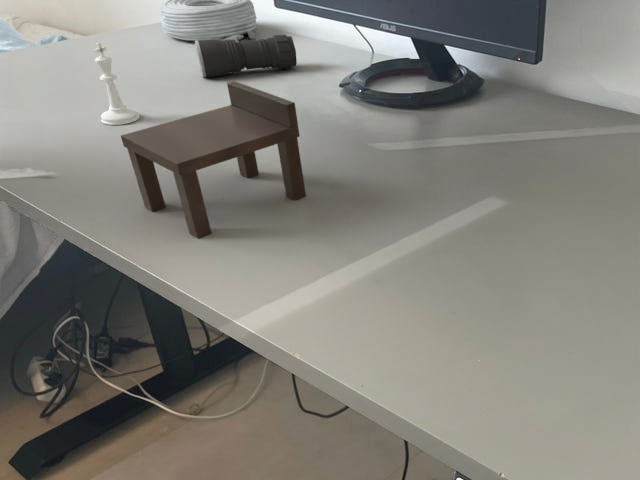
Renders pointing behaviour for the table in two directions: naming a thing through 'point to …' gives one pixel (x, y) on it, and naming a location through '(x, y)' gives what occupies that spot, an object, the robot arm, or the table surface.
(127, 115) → the chess piece
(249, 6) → the cable
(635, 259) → the table surface
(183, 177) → the wooden bench with backrest
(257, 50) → the flashlight
